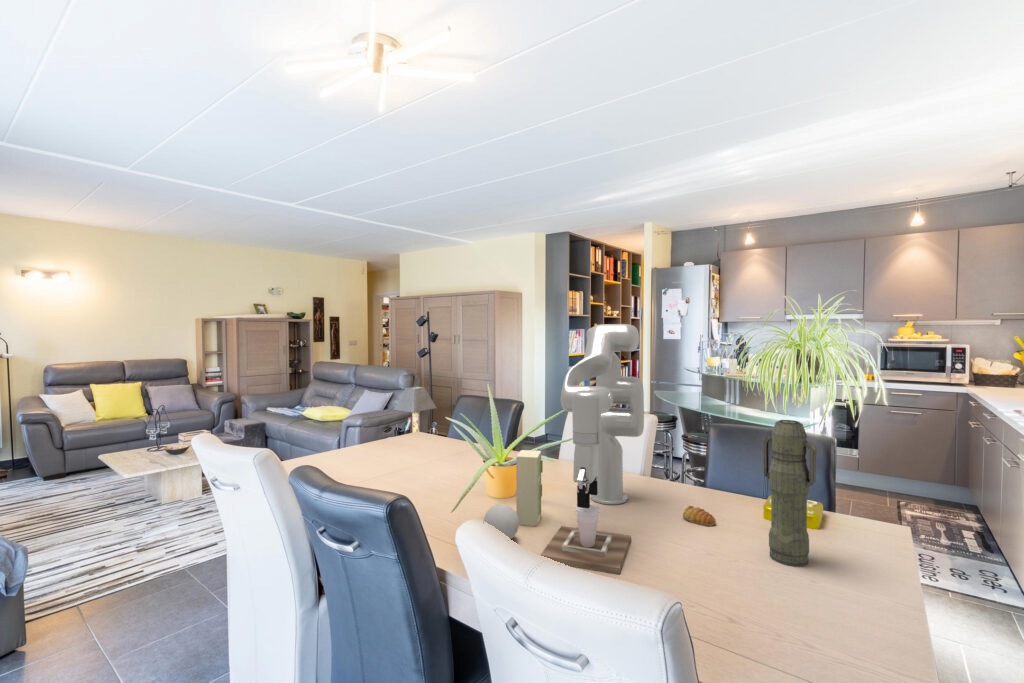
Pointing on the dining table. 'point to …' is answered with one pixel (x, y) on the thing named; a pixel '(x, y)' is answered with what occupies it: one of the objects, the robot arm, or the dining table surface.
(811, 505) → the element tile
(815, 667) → the dining table surface
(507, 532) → the ball
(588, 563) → the walnut board
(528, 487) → the toy refrigerator
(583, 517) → the smoothie
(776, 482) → the thermos
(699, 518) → the pastry
